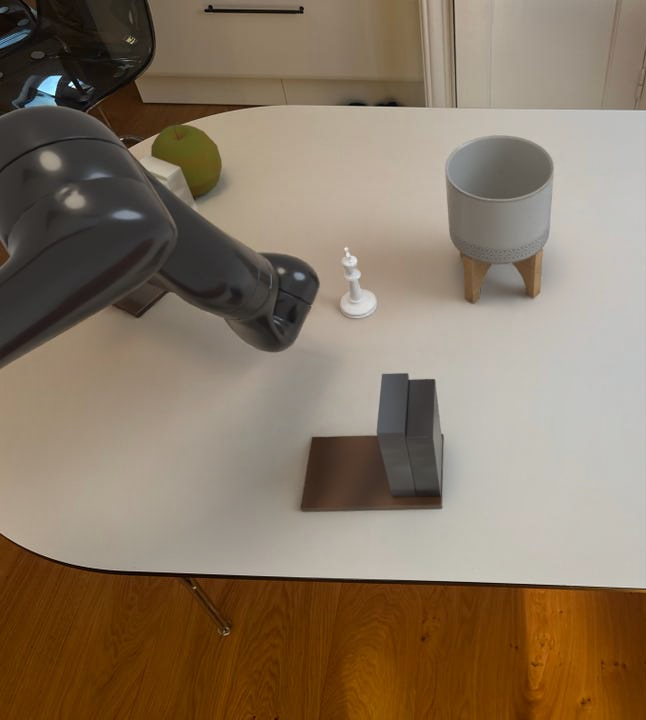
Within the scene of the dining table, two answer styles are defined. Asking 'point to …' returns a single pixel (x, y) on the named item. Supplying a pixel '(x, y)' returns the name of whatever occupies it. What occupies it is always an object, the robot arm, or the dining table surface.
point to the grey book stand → (382, 456)
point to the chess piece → (355, 291)
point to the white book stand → (177, 184)
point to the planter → (499, 207)
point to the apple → (190, 156)
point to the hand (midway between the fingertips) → (63, 210)
